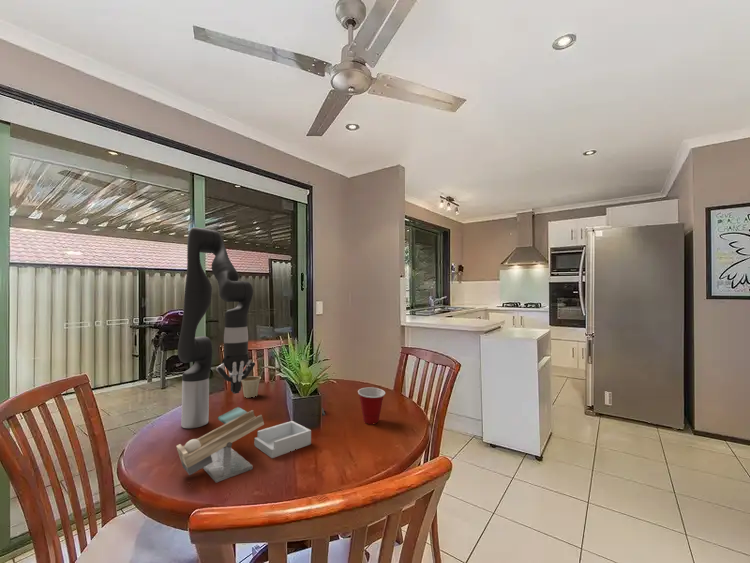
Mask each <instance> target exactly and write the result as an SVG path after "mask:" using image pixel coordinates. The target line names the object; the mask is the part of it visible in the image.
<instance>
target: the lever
mask: <svg viewBox="0 0 750 563" xmlns="http://www.w3.org/2000/svg"><path fill="white" fill-rule="evenodd" d="M217 420H218V421H219V422H221V423H222V425H220V426H219V427H216V428H214V429H213V430H211V431H209V432H207V433H205V434H203V435H201V436H200V437H197V438H196V439H197V440H199V441H200V443H201V447H200V448H198V449H197V450H195V451H193V452H191V453H189V454H188V452H187V451H186V450H185V449H184V447H185V445H186V444H184V445H182V444H181V443H179V444H177V445H176V450H177V453H178V456H179V459H180V462H181V466H182V468H183V469H184V471H185V472H186V474H188V476H191V475H193V474H195V473H196V472H198V471H199V470H202V469H203V467H205V466H207V465H208V464H210V463H212V462H213V461H212V458H211V455H212V454H213V453H215V452H217V451H219V450H220V449H222V448H224V447H226V446H227V447H228V448H230V447H231V448H232V446H233V443H234V442H236V441H238V440H239V439H241V438H243V437H245V436H247V435H248V434H251V433H252V432H254V431H255V430H257V429H259V428H261V427H262V426H264V425H265V423H264V419H263V415H262V414H259V415H257V416H256V415H255V412H254V410H253V409H251V410H249V411H247V410H245V409H243V408H241V407H240V406H237V407H234V408H233V409H230V410H229V411H227V412H225V413H223V414H220V415H219V416H218V417H217Z"/></svg>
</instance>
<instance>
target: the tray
mask: <svg viewBox="0 0 750 563" xmlns="http://www.w3.org/2000/svg"><path fill="white" fill-rule="evenodd" d="M253 444H254V447H255V448H257V449H258V450H260V451H261V452H262V453H263V454H265V455H266V456H268V457H269V458H271V459H274V458H277V457H280V456H283V455H285V454H288V453H290V451H291V452H293V451H296V450H298V449H301V448H304V447H308V446H310V445H311V444H312V430H311V429H310V428H308V427H305V426H304V425H301V424H299V423H297V422H296V421H293V420H290V421H287V422H283V423H280V424H276V425H273V426H270V427H266V428H263V429H260V430H257V437H254V443H253ZM295 449H296V450H295Z"/></svg>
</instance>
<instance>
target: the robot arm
mask: <svg viewBox="0 0 750 563" xmlns="http://www.w3.org/2000/svg"><path fill="white" fill-rule="evenodd" d="M186 246H187V247H186V248H187V249H186V252H187V253H186V255H187V256H186V258H187V259H186V260H187V261H186V262H187V264H186V268H187V269H186V280H185V286H184V297H183V298H184V299H183V314H182V322H181V328H180V332H179V340H178V344H177V355H178V356H177V357H178V359H179V361H180V362H181V363H183V364H187V363H193V362H194V363H193V365H192V366H191V367H189V368H188V369H186V370H185V371H184V372H182V376H181V377H182V379H181V380H182V382H181V416H180V417H181V419H180V420H181V421H180V423H181V424H180V426H181V428H183V429H196V428H200V427H203V426H205V425H207V424H208V423H209V413H210V411H209V409H210V407H209V406H210V403H209V402H210V373H211V370H212V363H213V362H212V359H213V343H212V340H211V339H210V337H208V336H196V333H197V328H198V326H199V323H200V322H201V320H202V319H203V317H204V316H205V315H206V313H207V311H208V310H209V309H210V306H211V303H212V296H213V294H212V293H213V286H212V284H211V281H210V279H209V278H208V276H207V274H206V273H205V271H204V269H203V266H202V263H201V257H200V256H201V253H203V254H204V253H206V254H213V255H214V258H213V259H212V261H211V271H212V274H213V275H214V277H215V279H216V280H217V284H218V293H219V298H220V299H221V300H222V301H224V302H227V303H237V302H238V304H237V305H236V307H234V308H231V309H227V310H226V311H225V312H224V313H225V314H224V331H223V359H222V361H221V363H220V364H219V365H218V366H216V367H215V371H216V372H217V373H218V374H219V375H220V376H221V378H223V379H224V381H226V382H228V383H230V392H231V393H232V394H239V393H240V391H241V390H242V381H241V380H243V379H246V378H247V377H249V375H250V374H251V372H252V370H253V369H254V367H255V366H256V363H255V362H254V361H251V360H250V357H249V330H248V329H249V328H248V314H249V311H250V306H251V302H252V300H253V296H254V288H253V285H252V284H251V283H250V282H249V281H247V280H246V281H245V280H244V281H243V280H239V273H238V271H237V270H236V267H234V264H232V262H231V260H230V258H229V255H228V251H227V248H226V246H225V243H224V240H223V237H222V236H221V234H220V232H218V231H217V230H215V229H208V228H203V227H197V226H196V227H195V226H193V227H191V228H190V229H189V232H188V235H187V245H186ZM225 368H226V369H225ZM225 370H227V371H228V374H227V373H226V371H225Z"/></svg>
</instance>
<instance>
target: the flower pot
mask: <svg viewBox="0 0 750 563" xmlns="http://www.w3.org/2000/svg"><path fill="white" fill-rule="evenodd" d="M261 379H262V377H261V376H257V375H256V376H255V375H253V376H252V375H250V376H247V378H246V379H243V380H241V386H242V392H243V397H244V398H245V397H246V398H247V399H249V398H251V397H253V398H256V397H257V396H258V395H259V393H258V392H259V386H260V382H261ZM255 396H256V397H255Z"/></svg>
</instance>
